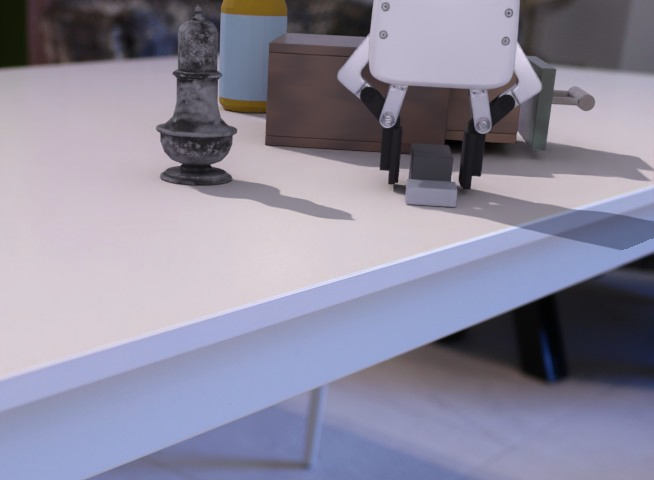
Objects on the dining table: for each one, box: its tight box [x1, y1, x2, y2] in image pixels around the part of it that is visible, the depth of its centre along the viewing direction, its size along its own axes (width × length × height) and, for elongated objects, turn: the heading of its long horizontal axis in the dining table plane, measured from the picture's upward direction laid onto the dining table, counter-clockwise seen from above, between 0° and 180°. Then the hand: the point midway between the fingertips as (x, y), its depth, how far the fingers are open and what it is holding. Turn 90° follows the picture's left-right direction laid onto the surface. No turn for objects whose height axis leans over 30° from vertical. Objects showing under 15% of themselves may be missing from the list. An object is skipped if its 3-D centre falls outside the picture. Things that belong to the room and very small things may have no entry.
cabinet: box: [264, 32, 450, 155], centre depth 97 cm, size 16×15×9 cm
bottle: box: [218, 0, 288, 114], centre depth 112 cm, size 7×7×15 cm
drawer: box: [445, 55, 596, 151], centre depth 96 cm, size 19×13×7 cm
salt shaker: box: [155, 4, 238, 186], centre depth 75 cm, size 6×6×12 cm
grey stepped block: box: [404, 143, 458, 208], centre depth 75 cm, size 3×9×3 cm, turn 174°
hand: (428, 180), depth 77 cm, fingers open, 4 cm apart
